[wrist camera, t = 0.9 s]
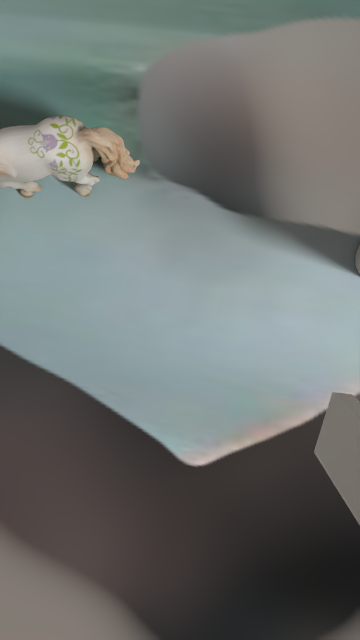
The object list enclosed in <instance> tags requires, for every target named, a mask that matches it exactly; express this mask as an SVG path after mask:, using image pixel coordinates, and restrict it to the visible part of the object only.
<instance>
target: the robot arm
mask: <svg viewBox="0 0 360 640" xmlns="http://www.w3.org/2000/svg"><path fill="white" fill-rule="evenodd" d="M314 453H315V454H316V456H317V457H318V459H319V461H320V462H321V464H322V466H323V467H324V469H325V470H326V472H327V473H328V475H329V477H330V478H331V480H332V481H333V483H334V485H335V486H336V488H337V490H338V491H339V493H340V494H341V496H342V498H343V499H344V501H345V502H346V504H347V506H348V507H349V508H350V510H351V512H352V513H353V515H354V517H355V518H356V520H357V521H358V523H359V525H360V402H359V401H358V400H357V399H356V398H355V397H354V396H353V395H352V394H343V393H335V392H333V393H332V396H331V399H330V402H329V406H328V409H327V412H326V415H325V418H324V422H323V425H322V428H321V432H320V435H319V438H318V441H317V444H316V448H315V451H314Z"/></svg>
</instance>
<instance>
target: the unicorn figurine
mask: <svg viewBox="0 0 360 640" xmlns="http://www.w3.org/2000/svg"><path fill="white" fill-rule="evenodd" d="M129 154H130V152H129V151H128V150H127V149H125V147H124V142H123V139H122V138H121V137H120V136H119V135H116V134H115V133H114V132H113V131H111V130H110V129H108V128H105V127H95V128H92V129H86V127H85V126H84V125H83V123H81V122H80V121H79V120H77V119H76V118H73V117H70V116H55V117H49V118H46V119H44V120H42V121H41V122H39V123H38V124H36V125H20V126H12V127H7V128H3V129H0V188H1V187H10V188H12V189H20V194H21V195H22V196H24V197H27V198H29V197H32V196H33V191H36V192H38V191H41V189H42V187H41V186H40V185H38V184H37V182H36V181H35V180H38V179H41V178H43V177H45V176H48V175H50V174H51V175H53V176H55V177H56V178H58V179H59V180H62V181H73V182H76V183H77V184H76V186H75V190H76V191H77V192H78V193H79V194H81V195H82V196H88V195H89V194H90V190H92V185H94V184H95V183H97V182H99V180H100V179H99V177H97V176H93V175H91V174H90V173H88V172H89V170H90V169H91V167H92V165H93V162H96V161H97V160H98V159H99V157H101V158H102V159H101V161H102V162H103V164H104V170H105V171H106V172H107V173H110V174H111V175H116V176H118V177H120V178H122V179H128V177H129V176H128V175H127V173H134V172H135V169H136V167H137V166H138V165H139V163H140V161H139V159H137V160H133V159H132V158H131V157H130V156H129Z"/></svg>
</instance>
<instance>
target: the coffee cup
mask: <svg viewBox="0 0 360 640" xmlns="http://www.w3.org/2000/svg"><path fill="white" fill-rule="evenodd" d="M355 264H356V268H357V270H358V273H359V274H360V245H359V247H358V249H357V251H356V256H355Z"/></svg>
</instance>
